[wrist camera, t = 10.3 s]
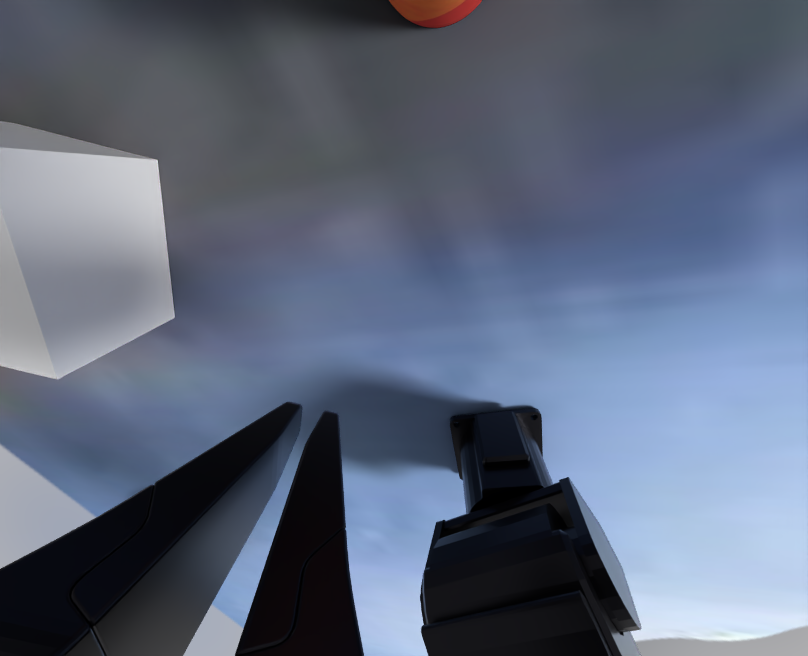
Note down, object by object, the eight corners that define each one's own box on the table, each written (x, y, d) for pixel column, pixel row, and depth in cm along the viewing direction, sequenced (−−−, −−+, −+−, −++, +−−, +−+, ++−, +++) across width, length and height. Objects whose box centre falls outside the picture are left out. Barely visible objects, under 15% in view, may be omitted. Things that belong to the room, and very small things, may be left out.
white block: (157, 159, 17) (-41, 143, 10) (175, 318, 22) (46, 386, 14) (-11, 116, 17) (-337, 68, 10) (41, 285, 21) (-157, 338, 14)
